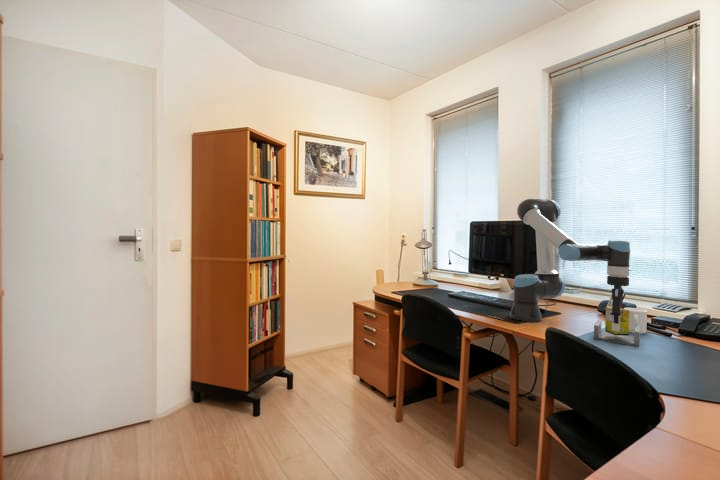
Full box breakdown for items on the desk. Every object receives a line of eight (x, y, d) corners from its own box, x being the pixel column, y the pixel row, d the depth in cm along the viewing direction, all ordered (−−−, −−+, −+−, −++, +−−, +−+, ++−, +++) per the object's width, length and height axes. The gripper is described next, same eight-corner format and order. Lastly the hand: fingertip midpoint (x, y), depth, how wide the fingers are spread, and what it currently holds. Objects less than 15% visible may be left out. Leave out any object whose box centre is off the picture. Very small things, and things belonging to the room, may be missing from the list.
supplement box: (629, 335, 141) (629, 310, 140) (614, 335, 141) (615, 310, 141) (618, 331, 147) (619, 306, 146) (604, 331, 147) (605, 306, 147)
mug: (647, 337, 147) (648, 314, 147) (623, 333, 152) (624, 311, 152) (645, 331, 157) (646, 309, 156) (623, 327, 162) (623, 306, 161)
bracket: (593, 338, 144) (594, 325, 144) (597, 332, 153) (597, 319, 153) (638, 346, 134) (639, 332, 134) (639, 339, 143) (640, 326, 143)
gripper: (627, 279, 133) (626, 335, 133) (630, 274, 149) (629, 325, 149) (604, 277, 138) (603, 331, 138) (609, 273, 153) (608, 322, 154)
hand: (616, 328), depth 144 cm, fingers closed on supplement box, 8 cm apart
